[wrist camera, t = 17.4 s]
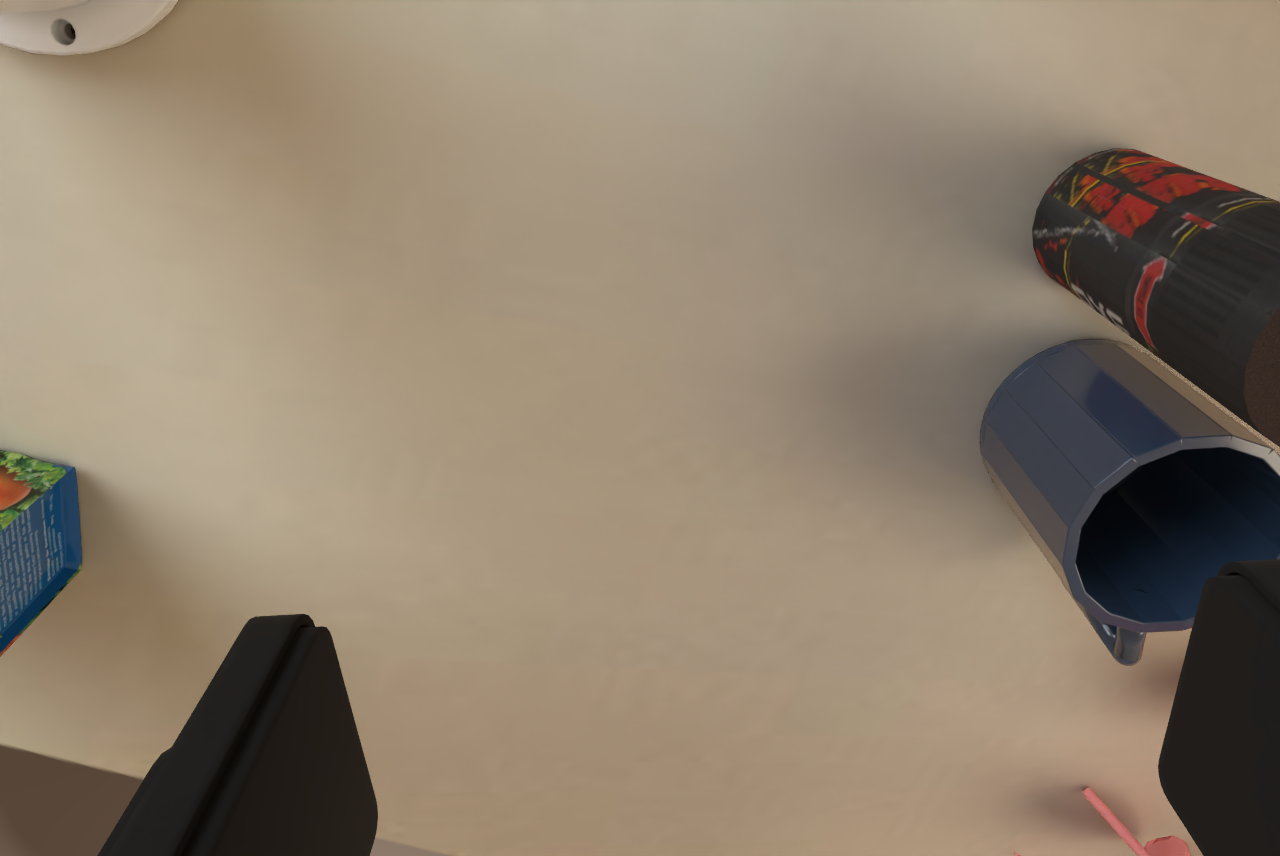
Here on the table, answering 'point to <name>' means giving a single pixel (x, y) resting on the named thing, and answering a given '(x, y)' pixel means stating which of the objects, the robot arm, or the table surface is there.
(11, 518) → the blue food package
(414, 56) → the table surface
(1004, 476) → the mug
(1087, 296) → the deodorant
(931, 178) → the table surface
